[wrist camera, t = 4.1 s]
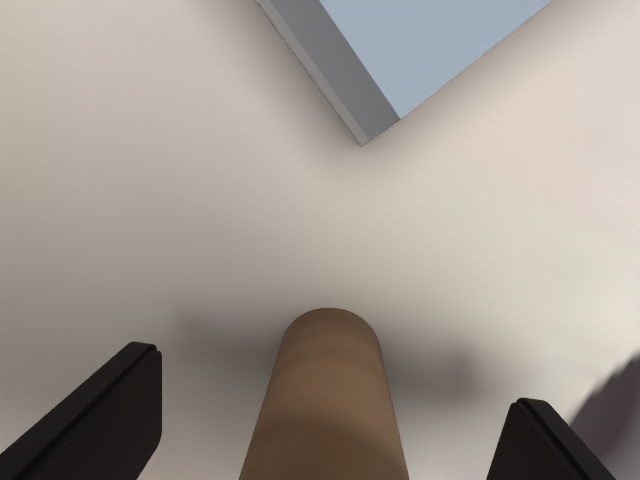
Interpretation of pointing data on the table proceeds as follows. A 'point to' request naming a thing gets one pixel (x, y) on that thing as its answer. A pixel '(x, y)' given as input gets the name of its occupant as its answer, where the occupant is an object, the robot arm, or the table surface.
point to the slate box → (390, 49)
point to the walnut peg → (327, 406)
